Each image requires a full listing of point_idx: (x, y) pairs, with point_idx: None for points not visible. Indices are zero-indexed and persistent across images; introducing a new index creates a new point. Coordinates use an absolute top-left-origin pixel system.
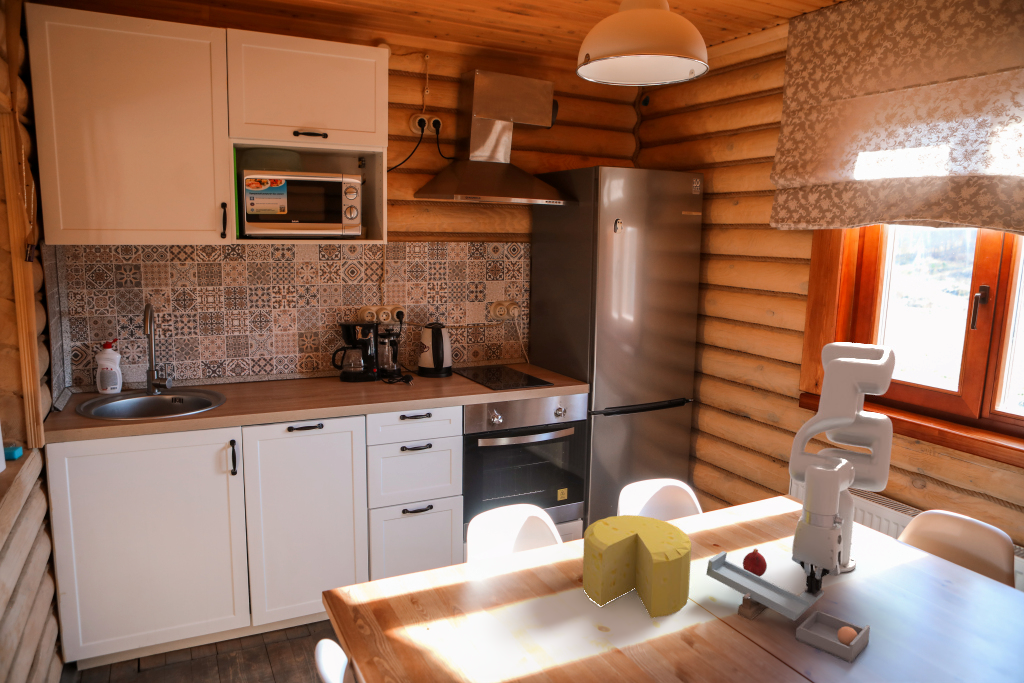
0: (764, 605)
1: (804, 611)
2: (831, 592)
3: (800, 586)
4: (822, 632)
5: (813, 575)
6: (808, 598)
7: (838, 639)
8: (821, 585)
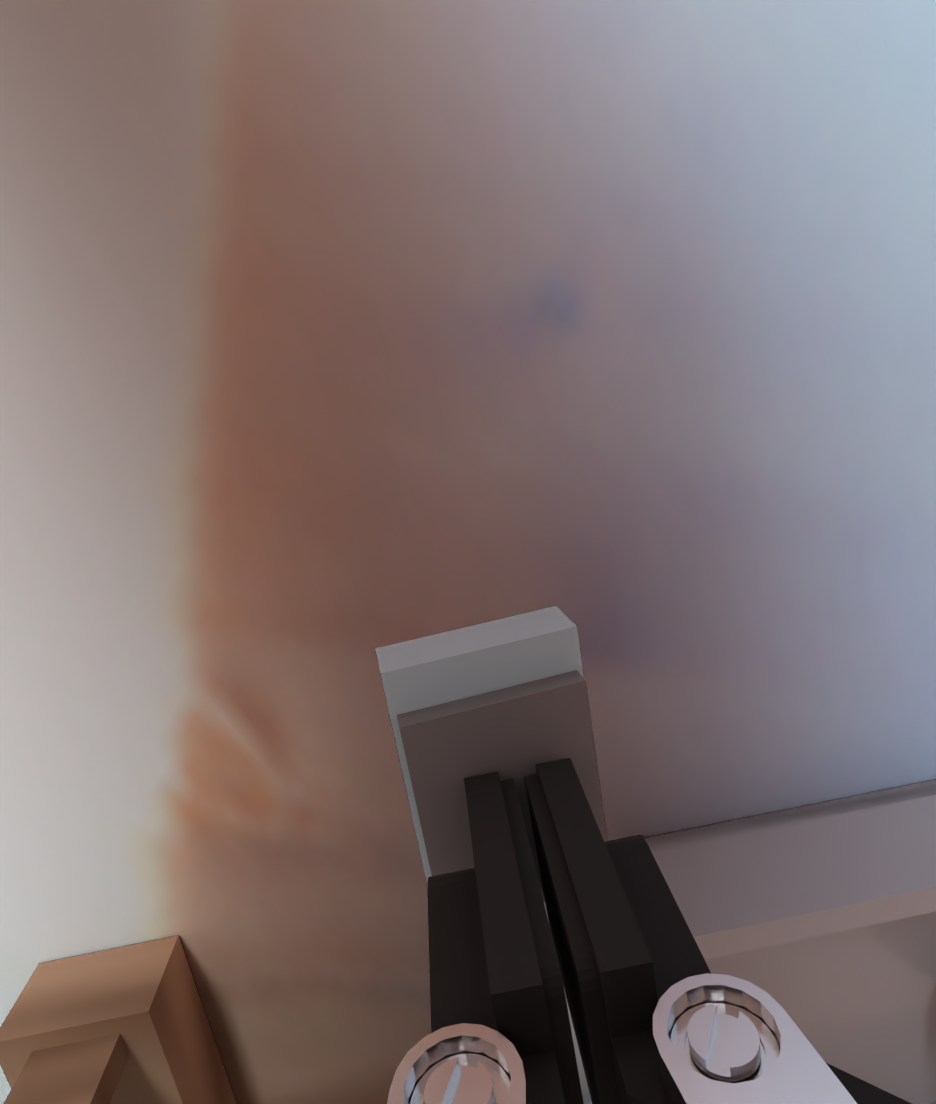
0: (205, 1078)
1: None
2: (382, 75)
3: (50, 303)
4: (777, 970)
5: (565, 1098)
6: None
7: (912, 944)
8: (660, 873)
